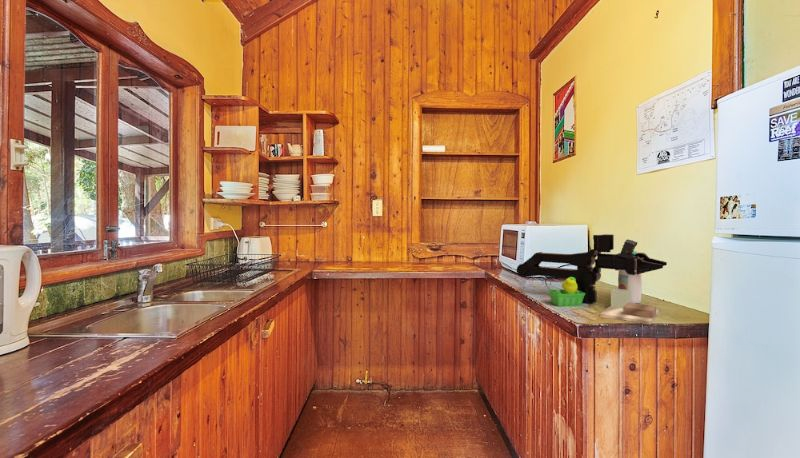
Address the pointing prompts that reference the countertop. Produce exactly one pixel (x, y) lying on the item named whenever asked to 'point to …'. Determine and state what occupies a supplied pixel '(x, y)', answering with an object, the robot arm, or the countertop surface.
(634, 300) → the milk bottle
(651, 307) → the base block
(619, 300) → the top block
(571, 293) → the fruit basket
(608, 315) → the board
